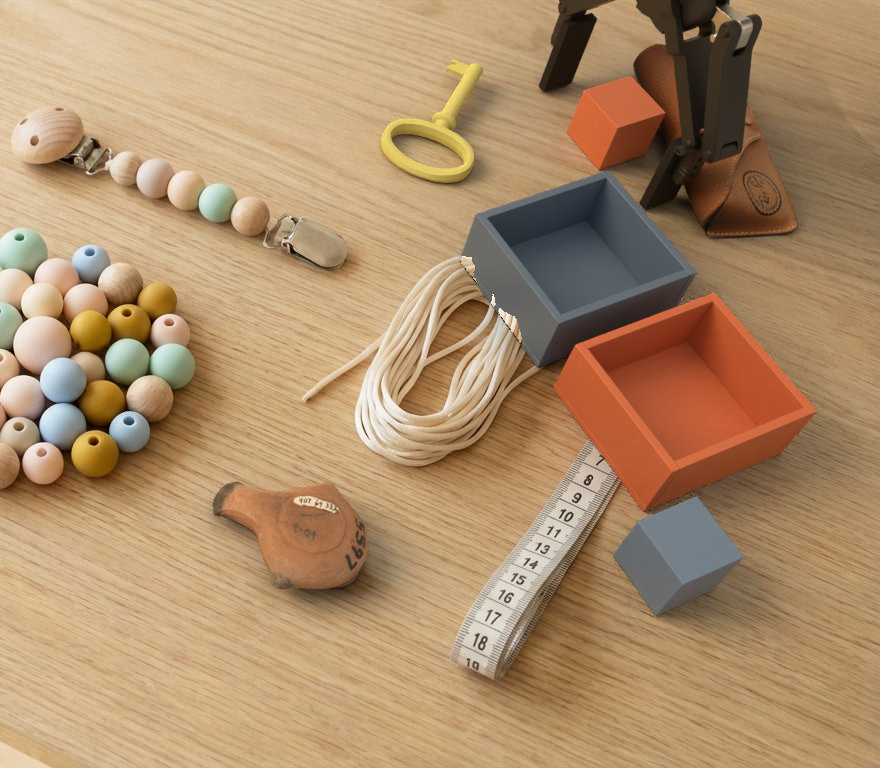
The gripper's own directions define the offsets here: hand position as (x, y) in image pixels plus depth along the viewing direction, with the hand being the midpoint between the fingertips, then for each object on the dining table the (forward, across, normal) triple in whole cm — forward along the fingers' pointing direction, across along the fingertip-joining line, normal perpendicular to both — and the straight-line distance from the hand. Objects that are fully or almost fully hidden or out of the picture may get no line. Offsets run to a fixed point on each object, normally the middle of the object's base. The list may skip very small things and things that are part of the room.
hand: (603, 141), depth 95 cm
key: (0, -6, -11) cm, 13 cm away
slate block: (0, +32, -18) cm, 37 cm away
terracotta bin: (0, +23, -11) cm, 26 cm away
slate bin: (0, +11, -11) cm, 16 cm away
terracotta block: (0, 0, 0) cm, 0 cm away
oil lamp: (0, +21, -38) cm, 44 cm away
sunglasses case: (0, +4, +7) cm, 8 cm away
